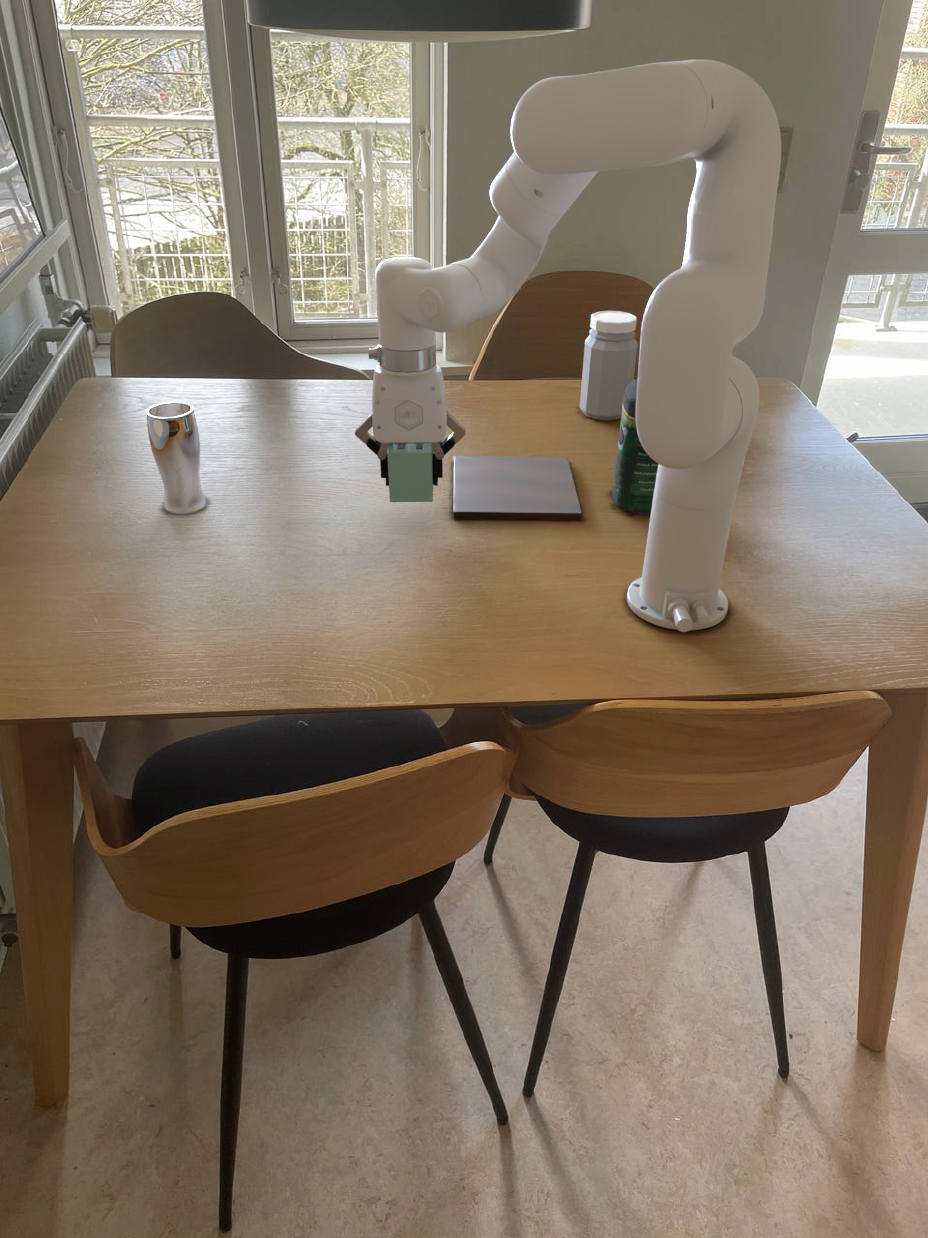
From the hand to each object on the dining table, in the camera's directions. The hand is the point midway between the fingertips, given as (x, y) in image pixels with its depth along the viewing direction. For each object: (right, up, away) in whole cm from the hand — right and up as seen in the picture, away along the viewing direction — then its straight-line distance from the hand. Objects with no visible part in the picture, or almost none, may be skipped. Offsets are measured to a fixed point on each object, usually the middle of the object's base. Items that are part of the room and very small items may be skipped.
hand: (412, 480), depth 133 cm
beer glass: (-35, -3, +7) cm, 35 cm away
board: (+15, +1, +13) cm, 20 cm away
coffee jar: (+34, -2, +10) cm, 36 cm away
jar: (+34, +19, +43) cm, 58 cm away
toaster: (0, -1, +1) cm, 1 cm away
